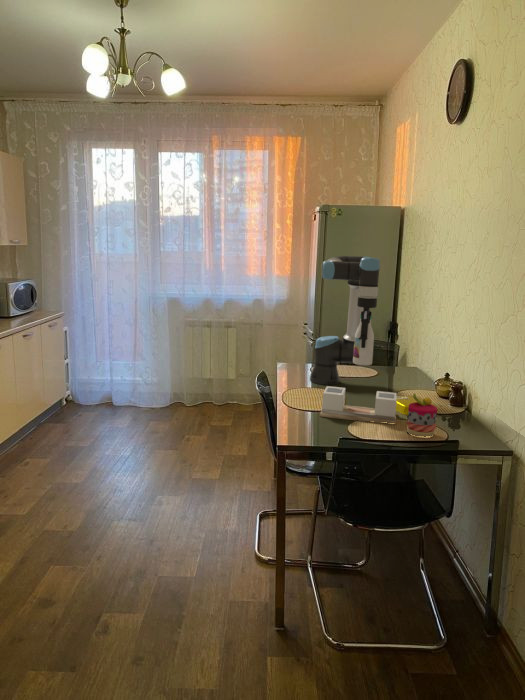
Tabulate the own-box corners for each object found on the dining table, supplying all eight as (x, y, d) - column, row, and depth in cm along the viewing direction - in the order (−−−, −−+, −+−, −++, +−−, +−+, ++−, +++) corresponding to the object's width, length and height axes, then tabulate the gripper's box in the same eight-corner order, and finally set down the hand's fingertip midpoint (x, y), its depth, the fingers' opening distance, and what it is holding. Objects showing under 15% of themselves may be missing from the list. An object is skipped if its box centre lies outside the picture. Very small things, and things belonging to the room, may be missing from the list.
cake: (429, 429, 205) (433, 392, 202) (439, 439, 194) (443, 399, 191) (402, 428, 204) (405, 391, 201) (410, 438, 194) (414, 399, 191)
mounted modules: (325, 404, 228) (326, 385, 226) (394, 411, 221) (396, 392, 220) (321, 412, 216) (323, 392, 215) (394, 420, 210) (396, 400, 208)
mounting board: (324, 406, 230) (325, 400, 229) (395, 414, 223) (396, 407, 222) (319, 416, 215) (320, 410, 215) (395, 424, 208) (396, 418, 208)
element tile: (404, 416, 221) (406, 405, 221) (386, 406, 236) (387, 395, 235) (435, 414, 226) (437, 403, 225) (416, 404, 240) (417, 394, 239)
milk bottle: (372, 362, 217) (376, 314, 214) (371, 366, 210) (375, 316, 206) (353, 361, 219) (357, 313, 216) (351, 364, 212) (355, 315, 208)
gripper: (359, 295, 221) (355, 348, 225) (356, 298, 201) (351, 357, 205) (378, 296, 219) (373, 350, 223) (376, 299, 199) (371, 359, 203)
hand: (363, 353), depth 214 cm, fingers closed on milk bottle, 8 cm apart
